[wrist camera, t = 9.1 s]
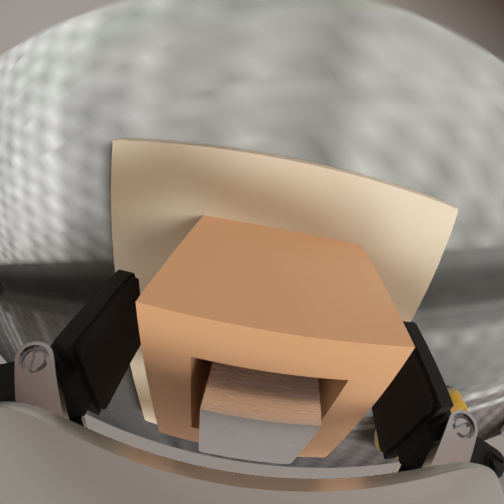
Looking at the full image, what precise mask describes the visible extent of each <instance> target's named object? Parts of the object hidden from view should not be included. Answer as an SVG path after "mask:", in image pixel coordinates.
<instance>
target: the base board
mask: <svg viewBox="0 0 504 504" xmlns="http://www.w3.org/2000/svg"><path fill="white" fill-rule="evenodd" d="M458 210H459V209H458V208H456V207H454V206H453V205H451V204H449V203H448V202H445V201H443V200H440V199H437V198H435V197H432V196H429V195H426V194H423V193H420V192H417V191H415V190H412V189H409V188H405V187H402V186H399V185H396V184H393V183H390V182H386V181H383V180H380V179H376V178H373V177H369V176H366V175H362V174H358V173H354V172H351V171H347V170H343V169H339V168H335V167H331V166H327V165H322V164H318V163H313V162H309V161H304V160H300V159H295V158H290V157H285V156H279V155H274V154H269V153H263V152H257V151H251V150H245V149H238V148H231V147H224V146H216V145H208V144H200V143H190V142H180V141H168V140H155V139H137V138H122V139H116V140H113V144H112V164H111V220H112V241H113V255H114V266H115V273H116V272H117V271H118V270H124V271H128V272H132V273H134V274H135V277H136V278H138V279H139V285H140V295H141V294H142V292H143V291H144V290H145V288H146V287H147V286H148V284H149V283H150V282H151V280H152V279H153V278H154V276H155V275H156V274H157V272H158V271H159V270H160V268H161V267H162V266H163V265H164V263H165V262H166V261H167V259H168V258H169V257H170V256H171V254H172V253H173V252H174V251H175V249H176V248H177V247H178V245H179V244H180V243H181V242H182V240H183V239H184V238H185V237H186V236H187V234H188V233H189V232H190V231H191V229H192V228H193V227H194V226H195V225H196V223H197V222H198V221H199V220H200V218H201V217H202V216H203V215H206V216H212V217H218V218H224V219H229V220H235V221H241V222H246V223H252V224H257V225H263V226H268V227H274V228H279V229H284V230H289V231H295V232H300V233H305V234H310V235H315V236H320V237H325V238H330V239H335V240H340V241H345V242H349V243H354V244H359V245H361V246H362V247H363V249H364V251H365V252H366V254H367V256H368V258H369V259H370V261H371V263H372V265H373V266H374V268H375V270H376V272H377V273H378V275H379V277H380V279H381V281H382V282H383V284H384V286H385V288H386V290H387V292H388V293H389V295H390V297H391V299H392V301H393V303H394V305H395V307H396V309H397V311H398V313H399V315H400V317H401V319H402V321H406V322H411V320H412V318H413V316H414V314H415V313H416V311H417V309H418V307H419V305H420V303H421V301H422V299H423V297H424V295H425V293H426V291H427V289H428V286H429V284H430V282H431V280H432V278H433V276H434V273H435V271H436V269H437V266H438V264H439V262H440V259H441V257H442V255H443V252H444V250H445V247H446V244H447V242H448V239H449V236H450V234H451V231H452V228H453V225H454V222H455V219H456V216H457V213H458ZM130 366H131V370H132V374H133V379H134V383H135V387H136V390H137V394H138V398H139V401H140V405H141V408H142V412H143V415H144V418H145V420H146V421H149V422H152V423H155V424H157V422H156V418H155V414H154V409H153V405H152V401H151V396H150V391H149V387H148V382H147V377H146V371H145V366H144V360H143V354H142V348H141V345H140V347H139V349H138V351H137V352H136V354H135V356H134V358H133V360H132V361H131V363H130Z"/></svg>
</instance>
